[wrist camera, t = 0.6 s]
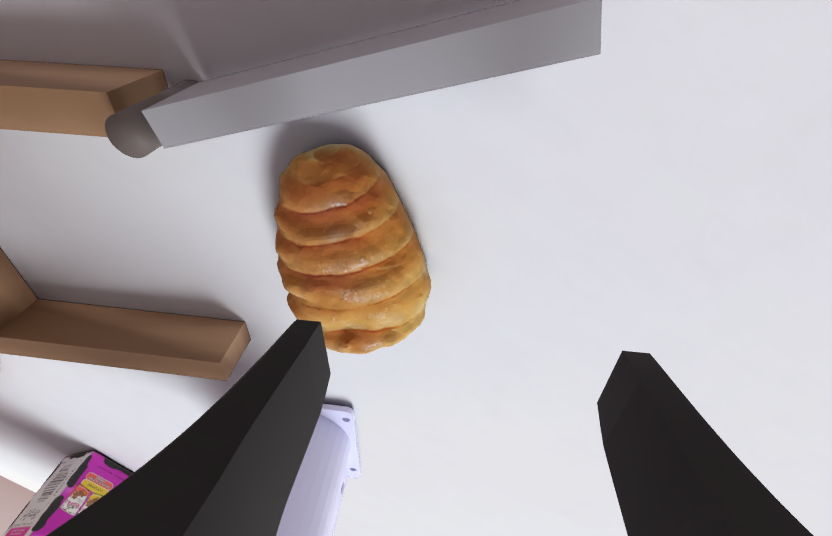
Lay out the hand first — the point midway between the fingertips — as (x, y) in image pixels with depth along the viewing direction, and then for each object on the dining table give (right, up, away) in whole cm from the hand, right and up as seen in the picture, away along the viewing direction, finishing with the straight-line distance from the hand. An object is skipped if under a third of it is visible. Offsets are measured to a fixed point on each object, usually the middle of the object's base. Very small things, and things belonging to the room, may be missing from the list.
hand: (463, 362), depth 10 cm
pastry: (-4, +4, +10) cm, 11 cm away
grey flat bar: (-3, +9, +4) cm, 10 cm away
